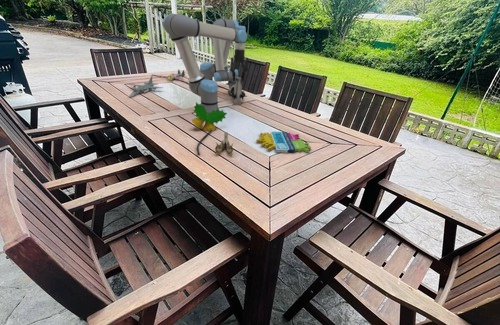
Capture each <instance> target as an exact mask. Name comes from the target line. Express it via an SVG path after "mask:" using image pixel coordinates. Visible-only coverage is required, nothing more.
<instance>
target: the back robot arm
mask: <svg viewBox="0 0 500 325" xmlns="http://www.w3.org/2000/svg"><path fill="white" fill-rule="evenodd" d="M212 25H217V26H222V27H227V28H232V29H235V26H240V24H239V22H238V20H237V19H232V18H231V19H230V18H218V19H216V20H215V21H214V22H213V23H212ZM211 39H212V46H213V56H214V63H213V62H211V61H209V62H205V61H204V62H202V63H200V65H199V69H200V72H201V73H202V74H204V77H205V79H208V80H213V81H215V82H216V83H221V82H228V83H229V84H228V89H229V90H227V94H228V97H229V98H230V97H231V99H233V100H234V99H235V95H234V86H235V84H236V77H239V69H237V68H236V69H235V81H233V76H232V72H231V71H230V70H229V65H228V63H227V61H228V58H229V54H230V49H231V45H232V42H233V41H228V40H222V39H216V38H211ZM152 75H153V77H159V78H161V76H162V75H156V74H152ZM164 78H165V77H163V79H164ZM165 79H166V78H165ZM173 80H175V81H178V82H182V83H185V84H188V85H189V82H188V81H185V80H181V79H173ZM244 98H246V93H245V91H244V90H242V97H241V100H244Z"/></svg>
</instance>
